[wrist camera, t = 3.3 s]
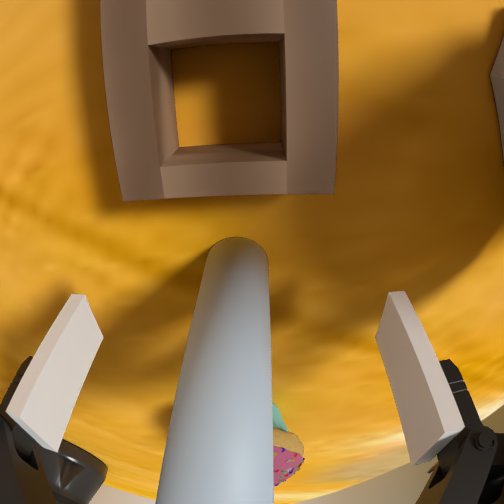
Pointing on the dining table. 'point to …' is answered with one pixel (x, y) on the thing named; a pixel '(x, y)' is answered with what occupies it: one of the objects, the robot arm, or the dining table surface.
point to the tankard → (499, 88)
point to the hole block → (163, 104)
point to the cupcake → (284, 450)
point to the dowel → (224, 387)
